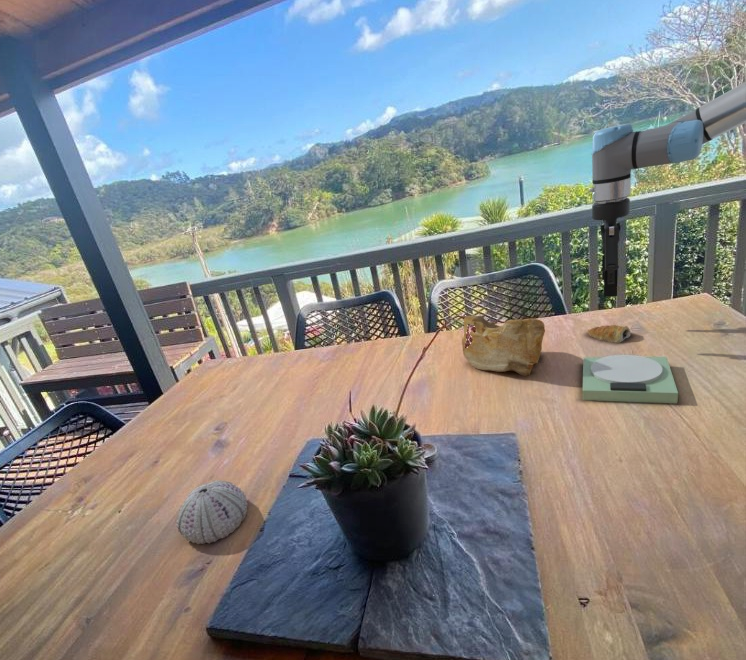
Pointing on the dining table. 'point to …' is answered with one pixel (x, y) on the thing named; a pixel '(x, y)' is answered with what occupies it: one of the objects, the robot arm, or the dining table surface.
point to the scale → (628, 379)
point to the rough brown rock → (504, 344)
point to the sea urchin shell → (212, 512)
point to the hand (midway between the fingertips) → (609, 287)
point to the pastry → (610, 333)
